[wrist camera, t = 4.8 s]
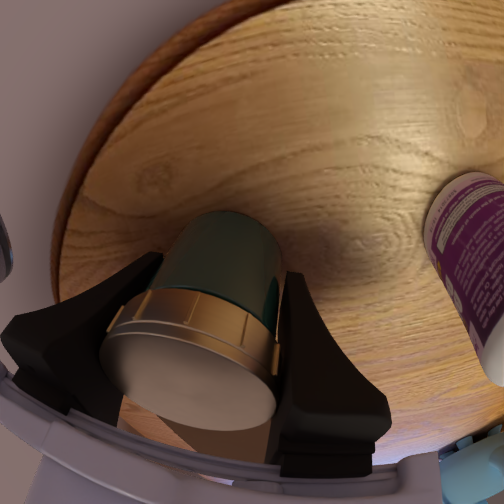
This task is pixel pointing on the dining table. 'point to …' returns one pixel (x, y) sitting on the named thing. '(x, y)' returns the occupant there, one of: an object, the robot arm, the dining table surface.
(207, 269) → the jar
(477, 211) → the pill bottle
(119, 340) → the jar lid
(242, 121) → the dining table surface
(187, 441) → the mat
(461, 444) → the teapot
